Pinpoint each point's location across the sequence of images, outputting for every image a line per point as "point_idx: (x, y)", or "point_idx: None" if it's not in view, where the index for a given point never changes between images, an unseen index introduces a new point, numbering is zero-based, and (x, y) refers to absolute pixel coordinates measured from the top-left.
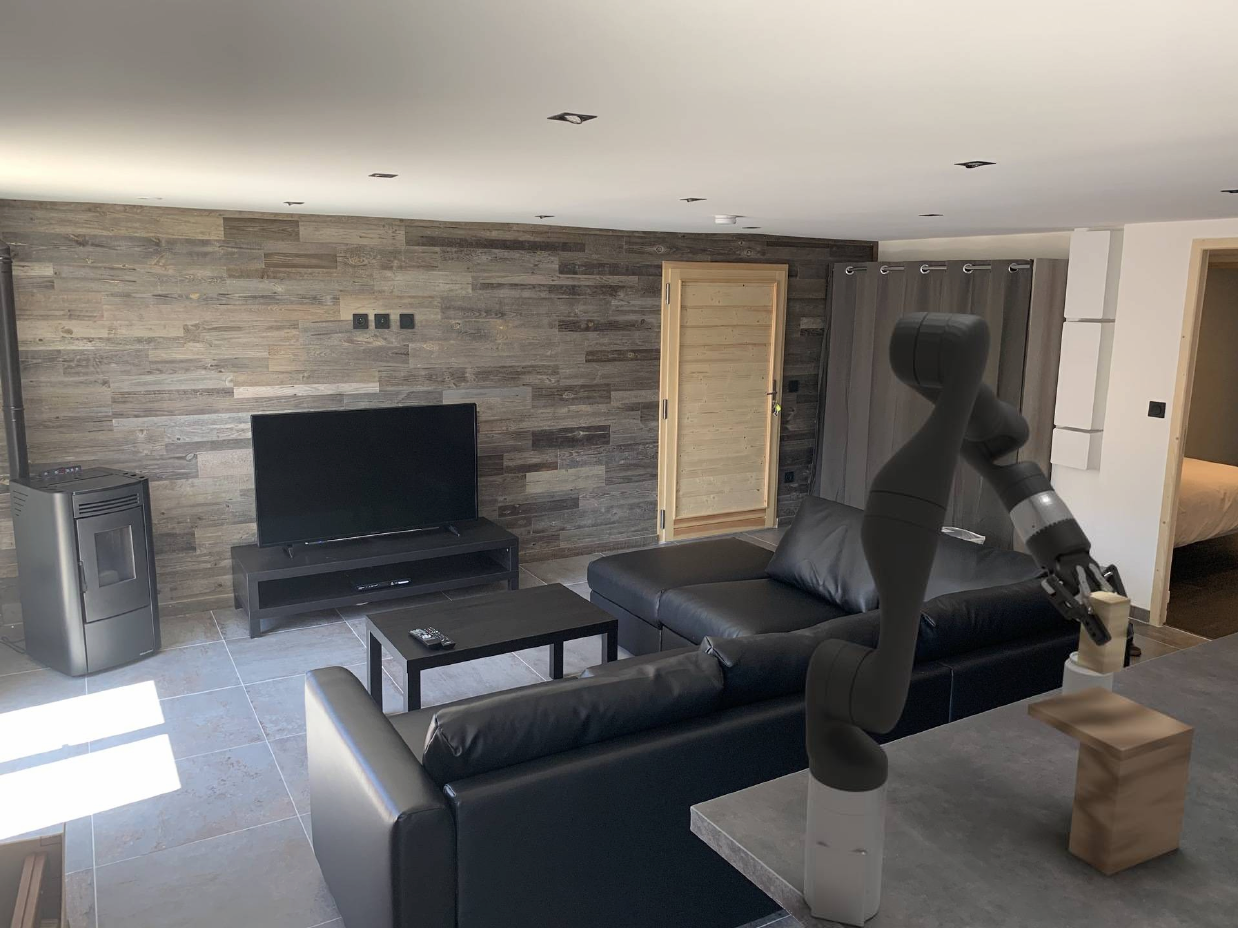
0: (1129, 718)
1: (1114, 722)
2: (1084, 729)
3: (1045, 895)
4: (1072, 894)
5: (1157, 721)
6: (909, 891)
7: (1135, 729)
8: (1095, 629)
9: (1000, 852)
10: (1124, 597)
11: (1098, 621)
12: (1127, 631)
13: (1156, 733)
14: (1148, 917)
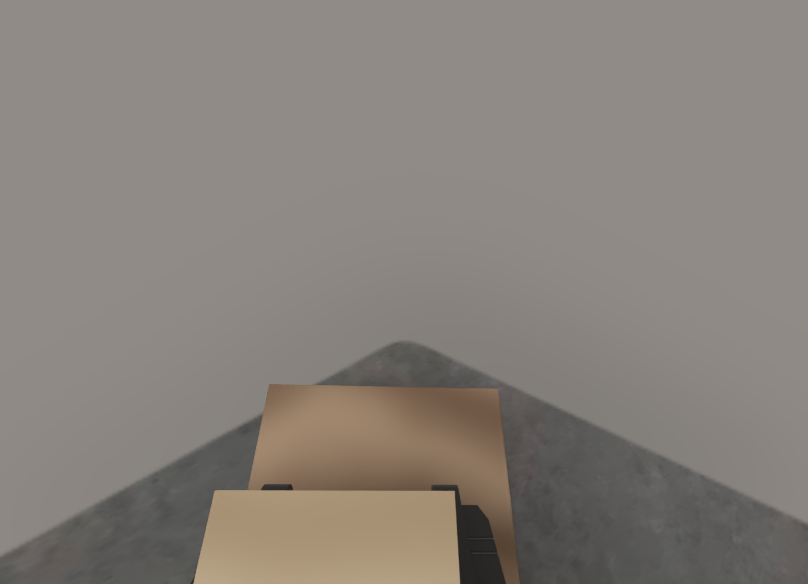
0: (346, 485)
1: (398, 489)
2: (498, 498)
3: (567, 457)
4: (532, 442)
5: (303, 442)
6: (754, 558)
7: (388, 438)
8: (496, 548)
9: (565, 569)
10: (217, 546)
11: (469, 563)
12: None
13: (365, 404)
14: (481, 373)
